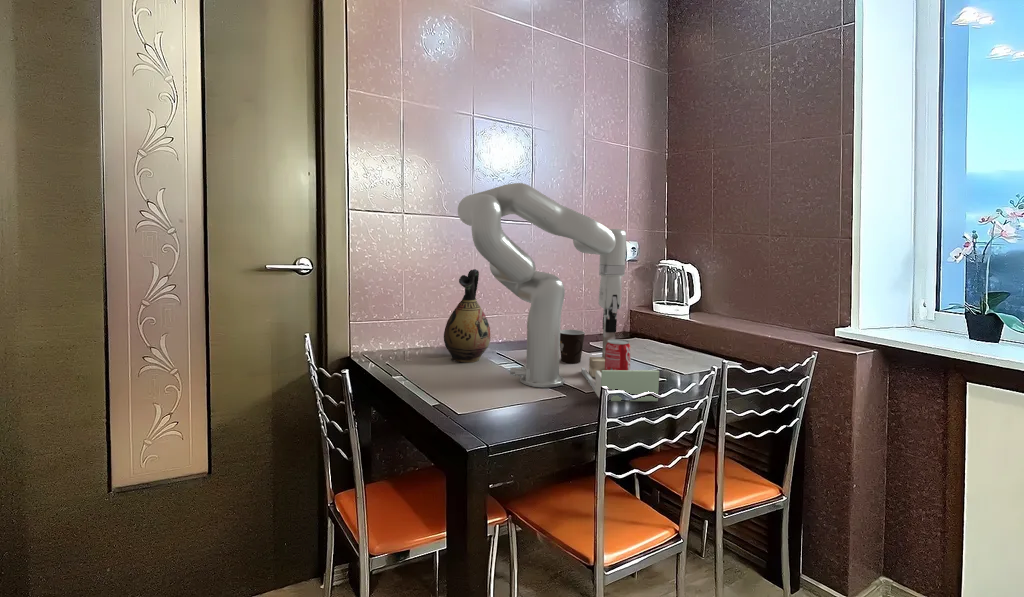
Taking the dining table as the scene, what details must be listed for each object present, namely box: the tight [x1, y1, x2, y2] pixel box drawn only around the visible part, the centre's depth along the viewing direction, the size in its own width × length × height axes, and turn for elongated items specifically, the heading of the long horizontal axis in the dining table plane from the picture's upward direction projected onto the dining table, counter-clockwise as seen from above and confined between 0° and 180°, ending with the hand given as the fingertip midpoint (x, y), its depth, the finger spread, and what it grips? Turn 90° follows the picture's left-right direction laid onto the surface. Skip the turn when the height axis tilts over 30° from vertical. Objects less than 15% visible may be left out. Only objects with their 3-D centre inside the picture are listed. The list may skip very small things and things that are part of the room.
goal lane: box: [580, 367, 660, 402], centre depth 162 cm, size 15×29×8 cm, turn 3°
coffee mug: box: [560, 329, 586, 365], centre depth 187 cm, size 12×9×10 cm
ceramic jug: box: [443, 269, 492, 364], centre depth 188 cm, size 17×15×30 cm
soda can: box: [605, 338, 632, 370], centre depth 161 cm, size 7×7×13 cm
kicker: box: [588, 315, 616, 378], centre depth 172 cm, size 11×6×18 cm, turn 93°
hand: (609, 330), depth 172 cm, fingers closed on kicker, 3 cm apart
